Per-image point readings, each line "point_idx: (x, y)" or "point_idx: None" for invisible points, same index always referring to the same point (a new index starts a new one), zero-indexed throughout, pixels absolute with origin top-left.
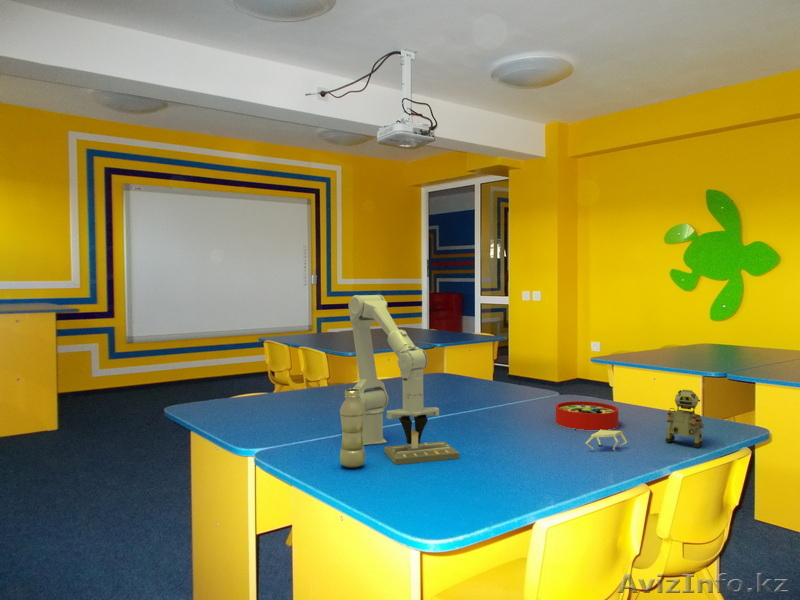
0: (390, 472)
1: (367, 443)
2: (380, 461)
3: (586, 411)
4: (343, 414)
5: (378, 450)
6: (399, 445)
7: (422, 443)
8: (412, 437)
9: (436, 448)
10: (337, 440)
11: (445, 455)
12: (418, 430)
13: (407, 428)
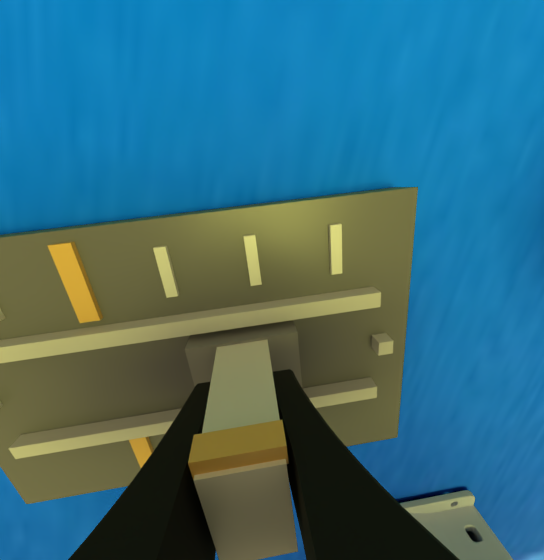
0: (482, 10)
1: (425, 504)
2: (451, 272)
3: None
4: None
5: (398, 435)
6: None
7: None
8: (269, 409)
9: (67, 348)
10: None
11: (3, 236)
12: (180, 511)
13: (388, 520)
